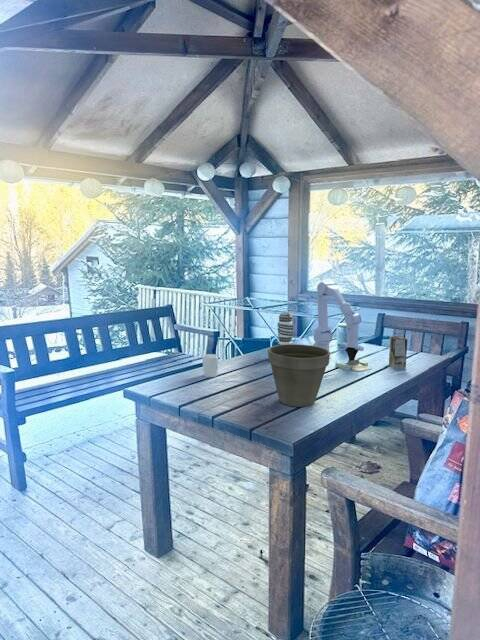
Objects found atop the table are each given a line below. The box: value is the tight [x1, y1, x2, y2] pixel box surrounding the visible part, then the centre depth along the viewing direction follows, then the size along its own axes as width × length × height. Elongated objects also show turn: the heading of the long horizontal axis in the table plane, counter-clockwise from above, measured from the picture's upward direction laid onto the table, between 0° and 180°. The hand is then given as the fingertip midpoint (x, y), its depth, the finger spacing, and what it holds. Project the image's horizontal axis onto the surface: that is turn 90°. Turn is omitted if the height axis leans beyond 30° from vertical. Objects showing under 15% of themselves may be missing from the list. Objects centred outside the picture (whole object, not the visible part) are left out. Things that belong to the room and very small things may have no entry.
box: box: [335, 359, 369, 371], centre depth 241 cm, size 9×15×2 cm, turn 121°
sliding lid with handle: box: [347, 358, 373, 373], centre depth 237 cm, size 9×10×4 cm
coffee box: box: [388, 335, 408, 370], centre depth 240 cm, size 9×6×16 cm
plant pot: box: [267, 343, 331, 408], centre depth 187 cm, size 25×25×22 cm
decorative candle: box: [277, 312, 294, 345], centre depth 266 cm, size 9×9×25 cm
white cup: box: [201, 353, 219, 378], centre depth 226 cm, size 8×8×10 cm
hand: (351, 361), depth 241 cm, fingers closed
